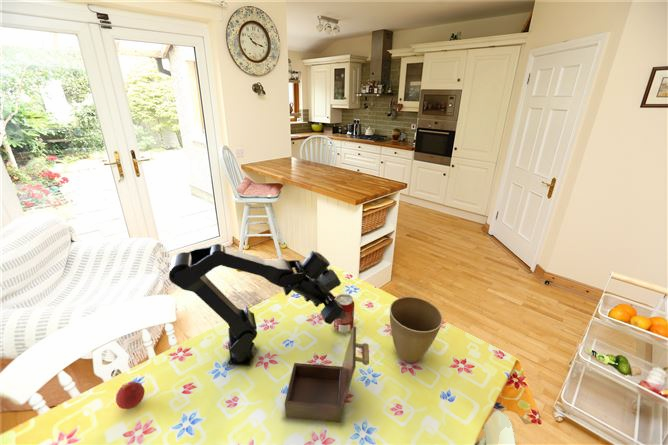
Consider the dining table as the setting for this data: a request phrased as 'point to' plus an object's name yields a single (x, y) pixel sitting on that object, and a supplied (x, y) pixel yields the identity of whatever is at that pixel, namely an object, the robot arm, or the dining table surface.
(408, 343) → the plant pot
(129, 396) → the onion
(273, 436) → the dining table surface
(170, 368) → the dining table surface
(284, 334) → the dining table surface
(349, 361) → the chest lid
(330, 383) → the chest
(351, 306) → the soda can
